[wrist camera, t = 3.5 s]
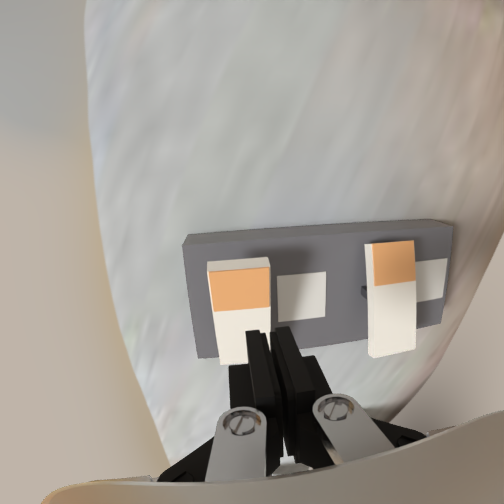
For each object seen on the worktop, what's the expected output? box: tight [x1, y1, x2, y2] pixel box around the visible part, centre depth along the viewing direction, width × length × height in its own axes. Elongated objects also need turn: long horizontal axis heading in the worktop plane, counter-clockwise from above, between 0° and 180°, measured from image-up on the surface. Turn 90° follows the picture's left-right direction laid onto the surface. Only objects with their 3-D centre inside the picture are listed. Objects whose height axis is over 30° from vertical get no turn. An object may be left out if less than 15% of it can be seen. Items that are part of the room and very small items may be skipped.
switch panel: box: [182, 219, 453, 358], centre depth 27 cm, size 10×24×6 cm, turn 93°
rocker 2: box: [364, 240, 416, 358], centre depth 24 cm, size 9×4×1 cm, turn 3°
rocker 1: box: [207, 257, 271, 365], centre depth 23 cm, size 9×4×1 cm, turn 4°
